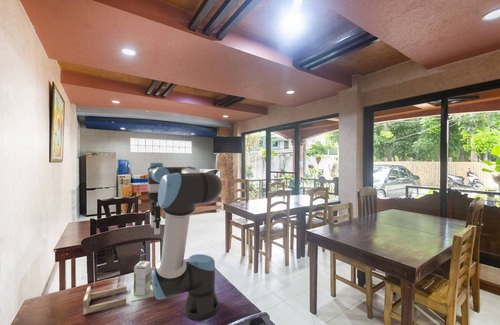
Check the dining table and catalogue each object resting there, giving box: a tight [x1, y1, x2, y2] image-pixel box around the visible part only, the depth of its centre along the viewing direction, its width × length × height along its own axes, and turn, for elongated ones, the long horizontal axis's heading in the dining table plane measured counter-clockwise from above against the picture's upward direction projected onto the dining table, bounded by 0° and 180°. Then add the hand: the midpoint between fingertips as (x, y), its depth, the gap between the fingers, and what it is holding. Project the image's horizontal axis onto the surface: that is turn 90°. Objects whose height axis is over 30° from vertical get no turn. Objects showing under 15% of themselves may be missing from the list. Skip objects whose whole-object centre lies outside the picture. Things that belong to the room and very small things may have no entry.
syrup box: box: [133, 260, 152, 296], centre depth 116 cm, size 6×6×14 cm
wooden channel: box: [82, 285, 127, 315], centre depth 109 cm, size 12×16×6 cm
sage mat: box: [130, 284, 155, 303], centre depth 116 cm, size 11×10×1 cm
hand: (155, 230), depth 126 cm, fingers open, 13 cm apart
